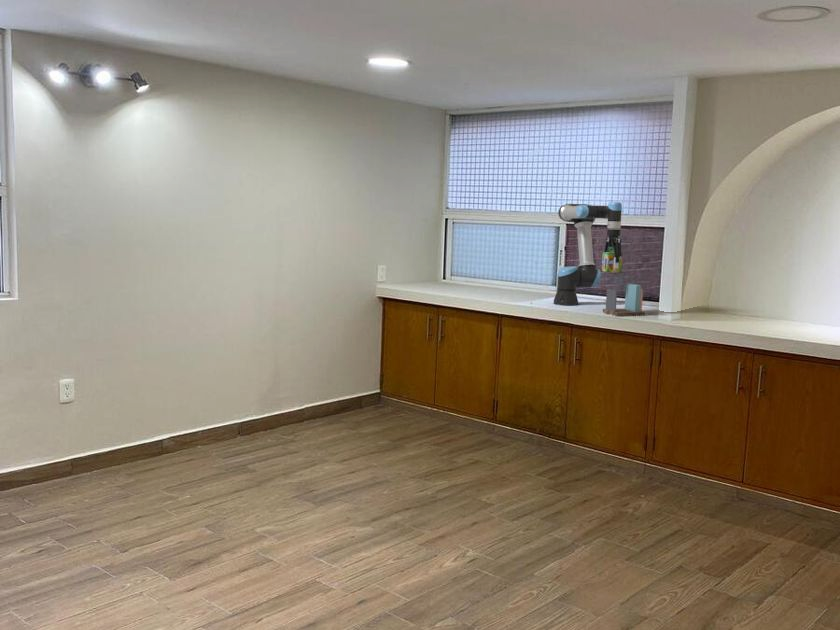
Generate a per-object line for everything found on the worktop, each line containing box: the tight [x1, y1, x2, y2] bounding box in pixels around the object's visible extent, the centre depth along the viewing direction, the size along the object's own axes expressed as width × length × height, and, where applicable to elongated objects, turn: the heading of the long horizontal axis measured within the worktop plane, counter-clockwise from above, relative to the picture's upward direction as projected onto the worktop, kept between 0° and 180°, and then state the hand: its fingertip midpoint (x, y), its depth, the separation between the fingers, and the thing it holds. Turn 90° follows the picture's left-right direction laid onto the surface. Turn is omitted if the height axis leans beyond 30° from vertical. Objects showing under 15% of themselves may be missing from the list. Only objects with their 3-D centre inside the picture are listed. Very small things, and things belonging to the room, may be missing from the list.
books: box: [624, 283, 644, 312], centre depth 467 cm, size 11×5×15 cm, turn 17°
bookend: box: [605, 288, 618, 312], centre depth 463 cm, size 10×1×12 cm, turn 17°
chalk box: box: [601, 247, 624, 274], centre depth 468 cm, size 9×9×15 cm
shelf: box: [602, 308, 646, 317], centre depth 466 cm, size 16×18×2 cm
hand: (611, 267), depth 469 cm, fingers closed on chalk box, 9 cm apart
